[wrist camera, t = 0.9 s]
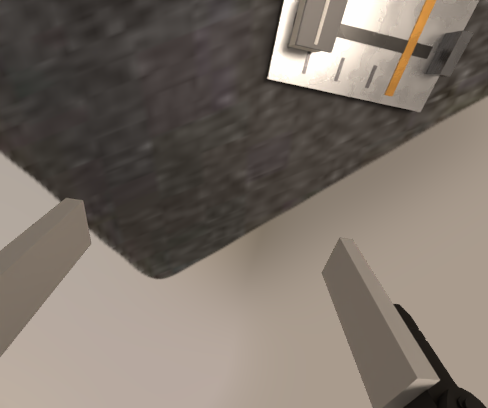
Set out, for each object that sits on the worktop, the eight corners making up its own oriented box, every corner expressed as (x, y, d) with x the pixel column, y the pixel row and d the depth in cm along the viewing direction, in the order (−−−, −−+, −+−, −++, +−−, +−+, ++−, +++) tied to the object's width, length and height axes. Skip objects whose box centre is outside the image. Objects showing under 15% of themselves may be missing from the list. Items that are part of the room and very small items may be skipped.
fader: (301, -16, 24) (316, -36, 19) (333, -7, 24) (356, -25, 19) (286, 48, 26) (296, 44, 22) (315, 55, 27) (332, 52, 22)
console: (294, -57, 24) (303, -78, 20) (471, -6, 26) (507, -17, 22) (266, 78, 29) (269, 79, 26) (412, 110, 32) (433, 115, 28)
